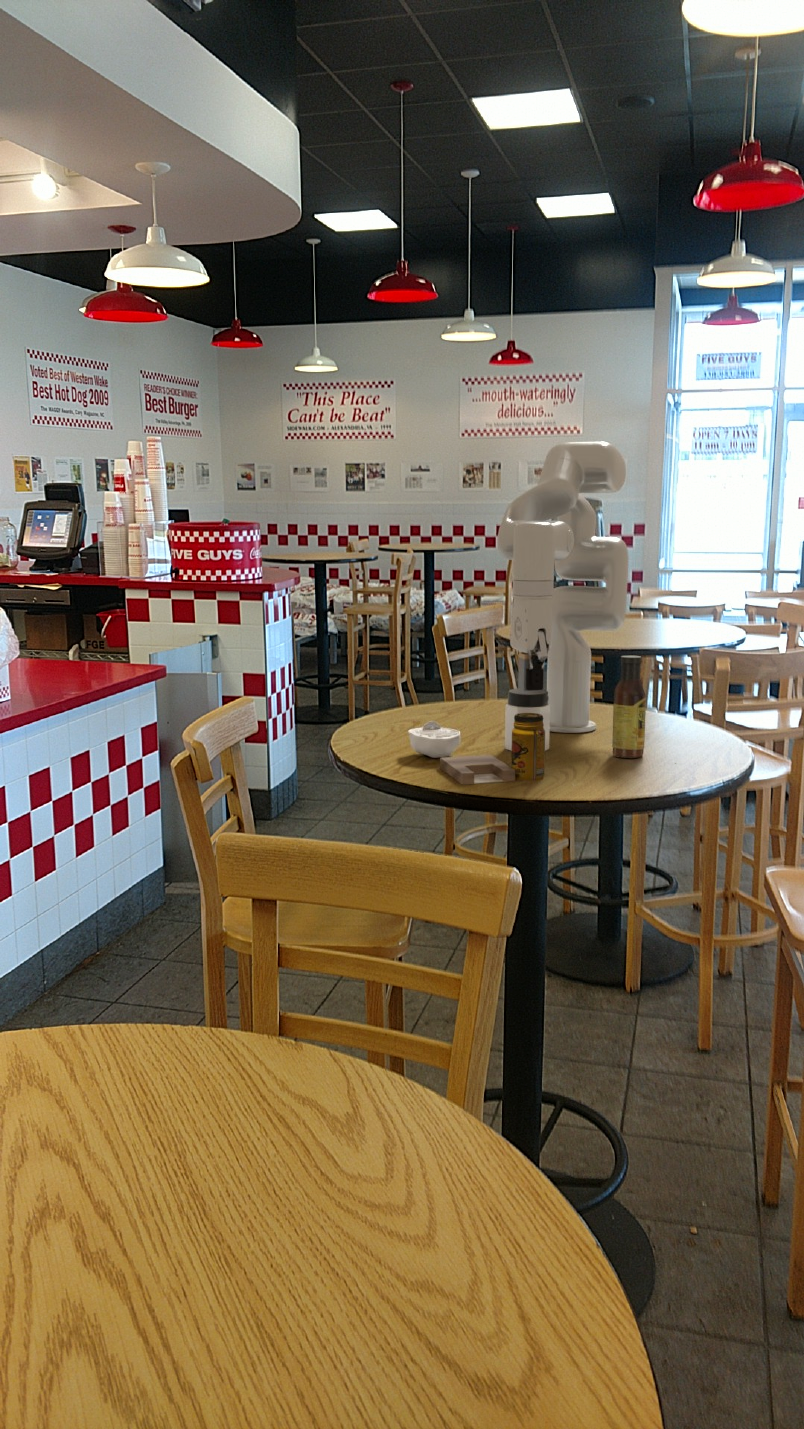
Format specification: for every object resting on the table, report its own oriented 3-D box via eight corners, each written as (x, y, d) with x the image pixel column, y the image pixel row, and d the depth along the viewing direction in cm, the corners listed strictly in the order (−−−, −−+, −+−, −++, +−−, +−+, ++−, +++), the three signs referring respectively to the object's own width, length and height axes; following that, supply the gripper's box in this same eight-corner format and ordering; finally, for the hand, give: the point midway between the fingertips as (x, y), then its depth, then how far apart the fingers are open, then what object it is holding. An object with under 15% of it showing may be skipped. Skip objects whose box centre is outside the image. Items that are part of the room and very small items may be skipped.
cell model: (415, 764, 205) (415, 729, 203) (403, 751, 216) (403, 718, 215) (467, 762, 206) (467, 727, 205) (452, 749, 218) (452, 716, 217)
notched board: (440, 768, 201) (440, 757, 201) (490, 764, 204) (490, 754, 204) (462, 784, 189) (462, 773, 189) (515, 780, 192) (515, 769, 191)
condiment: (501, 779, 194) (502, 715, 192) (526, 771, 201) (528, 708, 199) (535, 786, 190) (536, 719, 188) (560, 777, 196) (561, 713, 194)
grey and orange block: (518, 688, 201) (518, 652, 200) (538, 687, 202) (539, 652, 201) (523, 691, 198) (524, 654, 197) (543, 690, 199) (544, 654, 198)
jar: (556, 751, 215) (557, 693, 213) (521, 755, 212) (523, 696, 210) (531, 743, 223) (533, 686, 221) (498, 747, 220) (499, 689, 217)
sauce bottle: (644, 760, 208) (648, 658, 204) (611, 758, 209) (615, 658, 205) (643, 752, 214) (647, 654, 210) (611, 751, 215) (615, 653, 212)
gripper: (499, 587, 203) (497, 682, 207) (529, 593, 188) (527, 696, 191) (536, 586, 205) (534, 681, 209) (569, 592, 190) (566, 694, 193)
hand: (530, 687), depth 200 cm, fingers closed on grey and orange block, 3 cm apart
